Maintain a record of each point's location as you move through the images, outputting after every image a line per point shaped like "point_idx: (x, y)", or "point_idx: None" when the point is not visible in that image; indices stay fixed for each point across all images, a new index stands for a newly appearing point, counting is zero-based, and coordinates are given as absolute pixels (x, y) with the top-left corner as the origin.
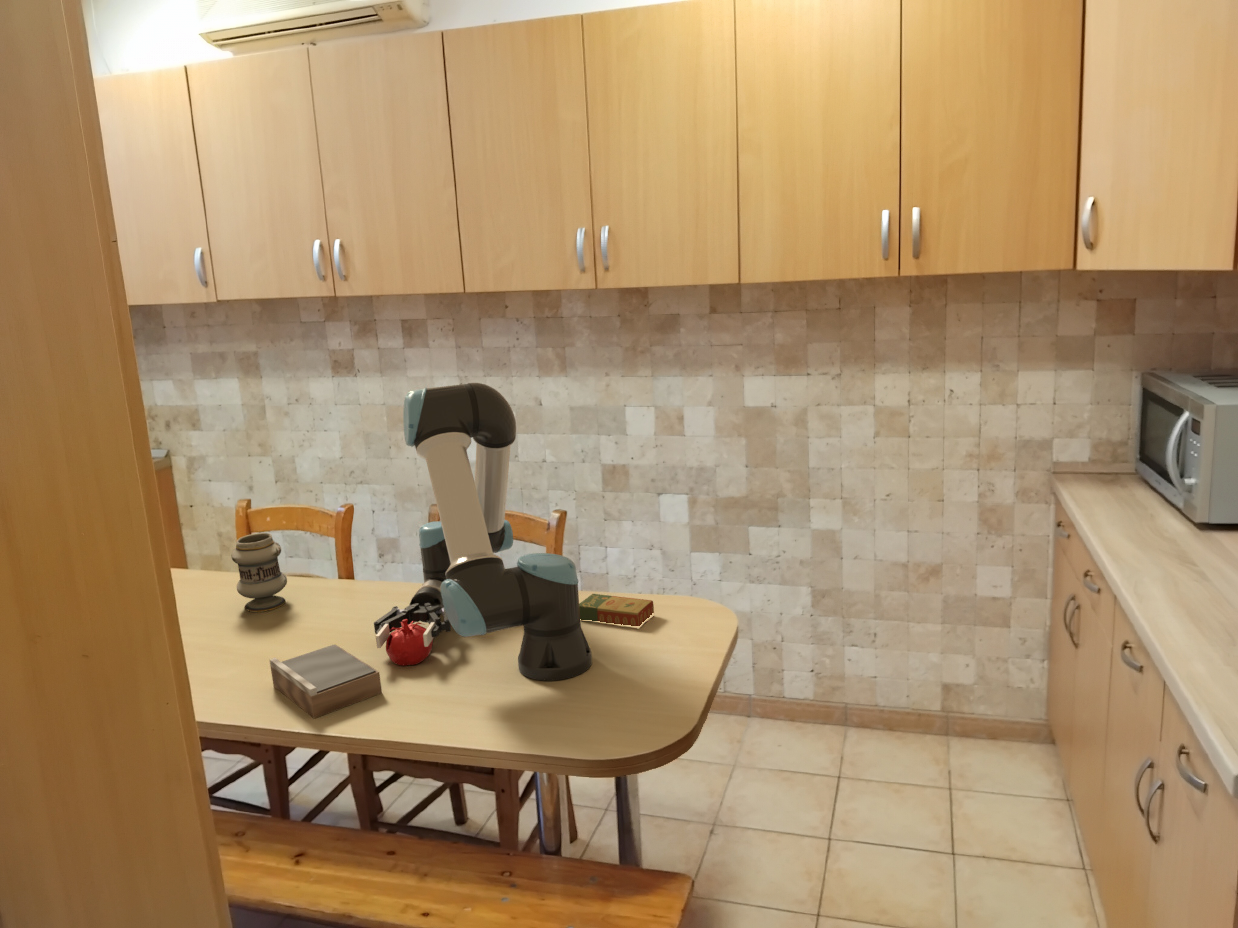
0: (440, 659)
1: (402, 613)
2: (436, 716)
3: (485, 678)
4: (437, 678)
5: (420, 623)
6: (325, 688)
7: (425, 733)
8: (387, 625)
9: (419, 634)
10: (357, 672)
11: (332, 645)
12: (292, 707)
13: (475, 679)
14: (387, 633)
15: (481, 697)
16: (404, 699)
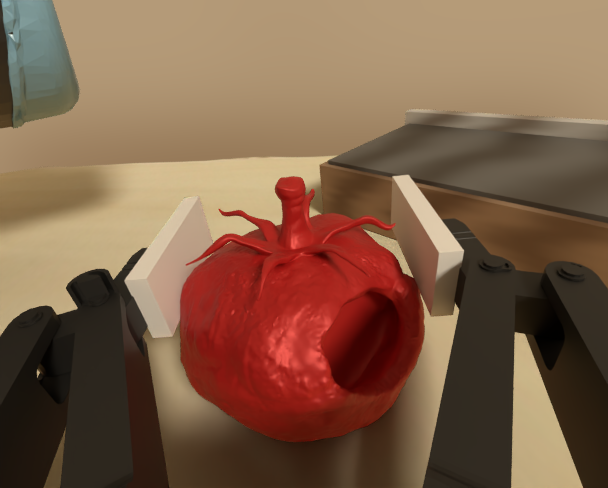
0: (182, 365)
1: (486, 474)
2: (201, 186)
3: (74, 270)
4: None
5: (212, 245)
6: (399, 128)
7: (216, 167)
8: (431, 242)
9: (227, 245)
10: (370, 153)
11: None
12: None
13: (100, 266)
14: (421, 268)
15: (113, 221)
16: (265, 206)
